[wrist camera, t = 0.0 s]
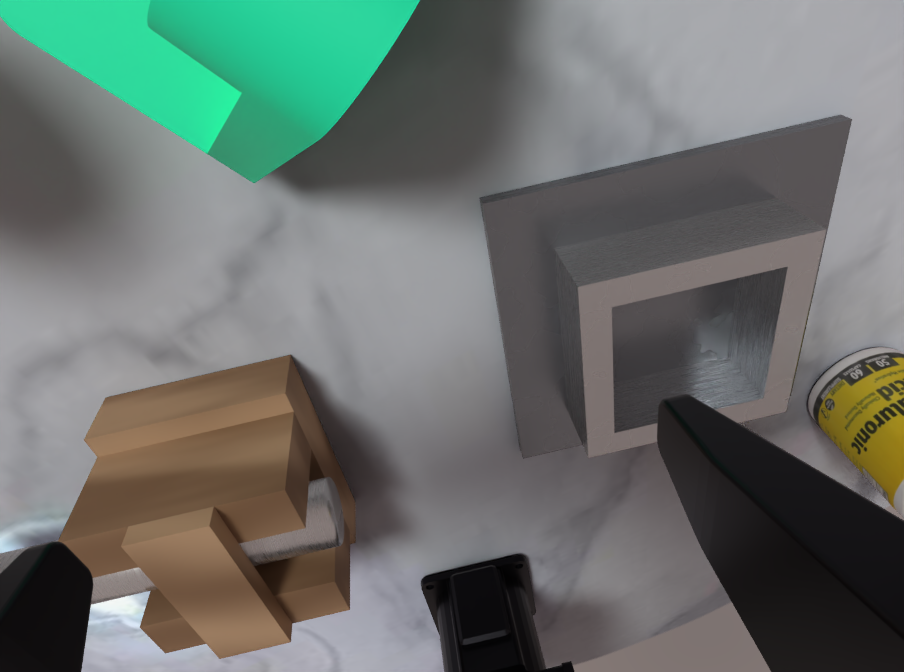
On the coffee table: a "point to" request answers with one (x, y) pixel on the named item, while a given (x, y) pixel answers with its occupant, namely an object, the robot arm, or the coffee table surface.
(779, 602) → the robot arm
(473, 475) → the coffee table surface
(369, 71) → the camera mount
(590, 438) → the socket
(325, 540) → the pin
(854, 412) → the supplement bottle
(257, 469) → the mount
